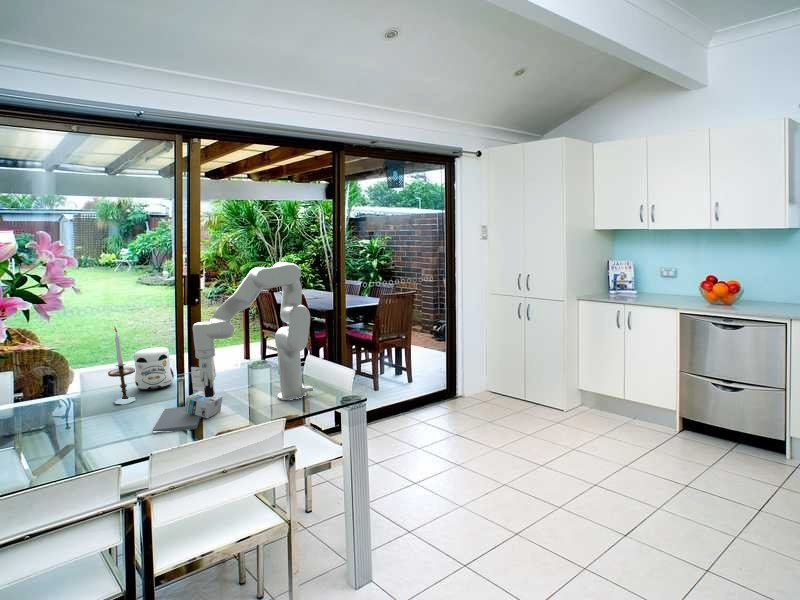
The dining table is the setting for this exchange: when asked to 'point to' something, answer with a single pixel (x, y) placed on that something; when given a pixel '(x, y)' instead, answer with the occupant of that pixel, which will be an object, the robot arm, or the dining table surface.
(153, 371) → the milk container
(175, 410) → the mat
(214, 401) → the light bulb box
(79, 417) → the dining table surface
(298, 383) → the robot arm
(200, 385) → the ink cartridge box
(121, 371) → the candlestick
